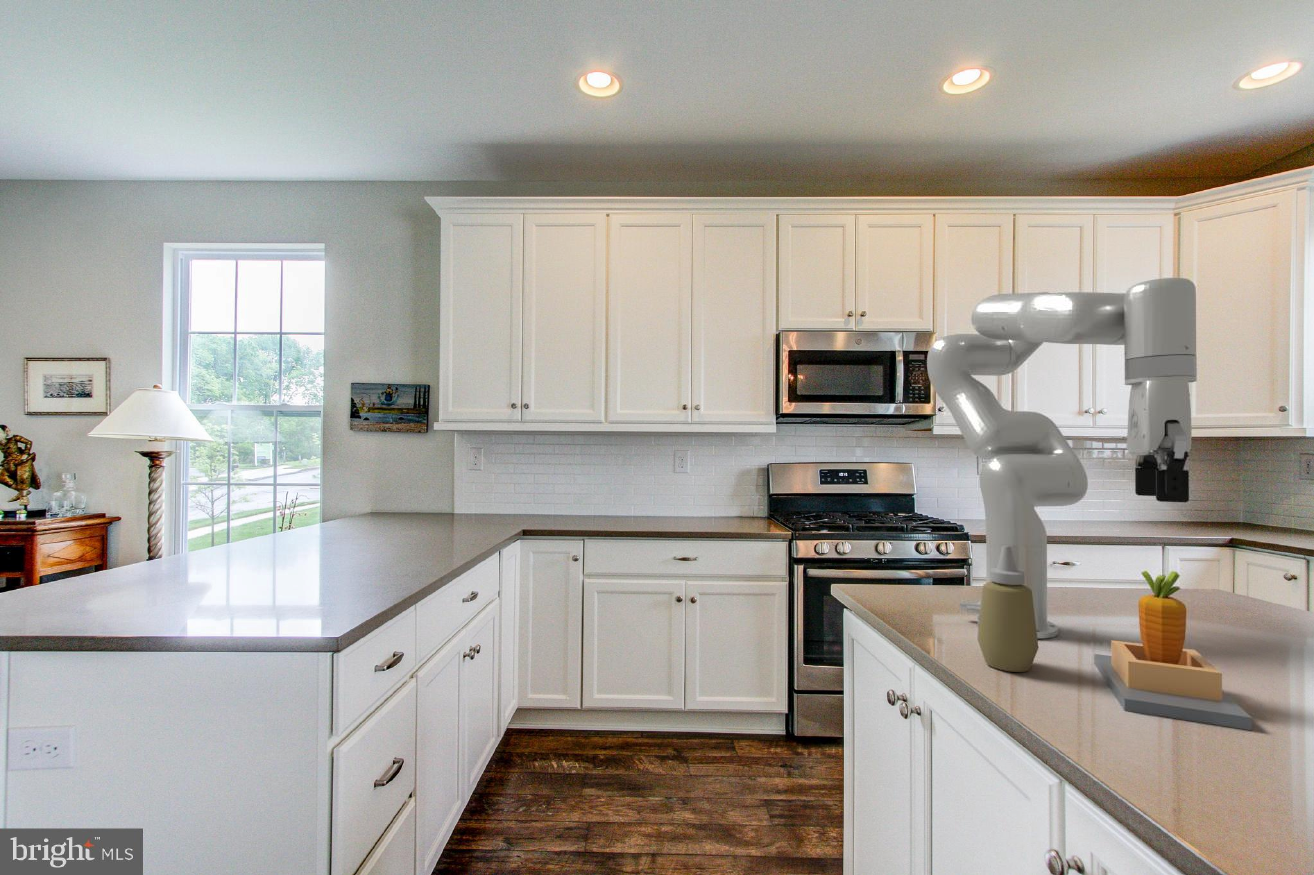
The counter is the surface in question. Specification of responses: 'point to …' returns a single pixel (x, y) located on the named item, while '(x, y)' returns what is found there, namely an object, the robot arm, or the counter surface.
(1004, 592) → the squeeze bottle
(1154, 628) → the carrot
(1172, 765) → the counter surface
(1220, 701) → the socket block
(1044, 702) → the counter surface
